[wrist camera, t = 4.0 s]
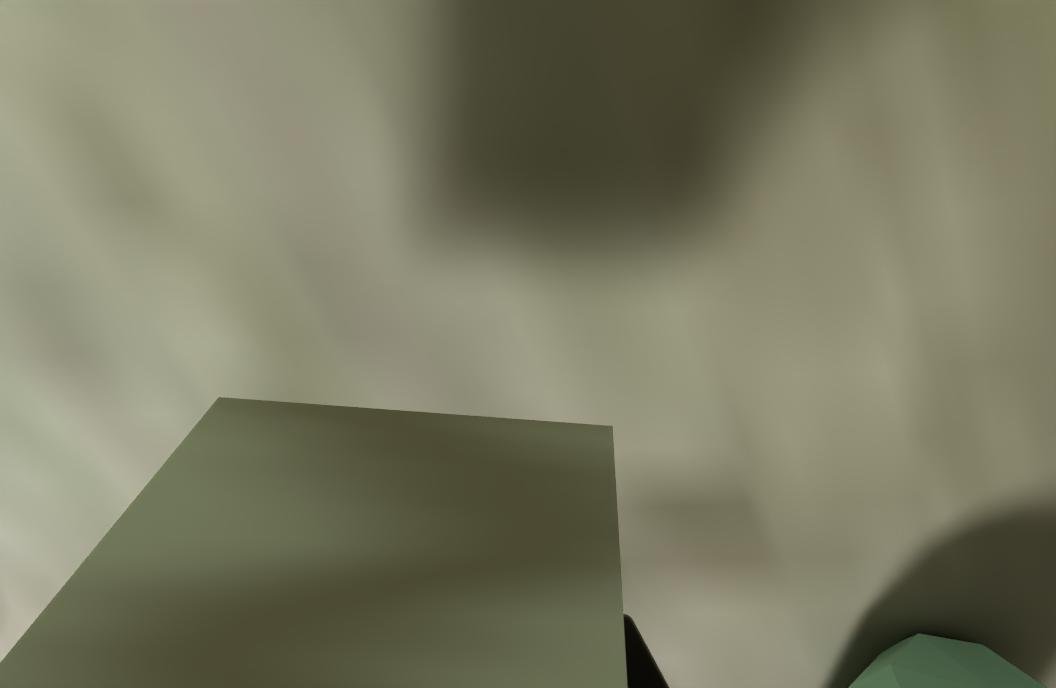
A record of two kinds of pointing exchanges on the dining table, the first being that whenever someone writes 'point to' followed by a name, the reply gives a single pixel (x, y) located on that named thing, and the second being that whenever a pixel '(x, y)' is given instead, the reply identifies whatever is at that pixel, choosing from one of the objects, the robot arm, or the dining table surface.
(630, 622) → the robot arm
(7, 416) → the dining table surface
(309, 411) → the sage block
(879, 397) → the dining table surface
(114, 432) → the dining table surface
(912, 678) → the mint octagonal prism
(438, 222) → the dining table surface
